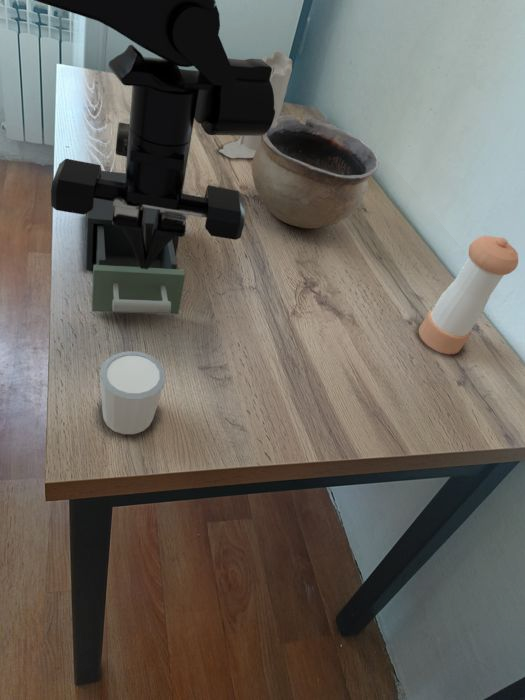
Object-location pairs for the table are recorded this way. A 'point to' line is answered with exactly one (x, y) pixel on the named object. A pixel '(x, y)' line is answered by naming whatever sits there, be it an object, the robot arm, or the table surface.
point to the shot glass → (130, 391)
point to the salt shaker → (468, 294)
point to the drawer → (133, 276)
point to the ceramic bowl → (311, 172)
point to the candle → (279, 84)
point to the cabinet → (109, 219)
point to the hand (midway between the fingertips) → (144, 266)
